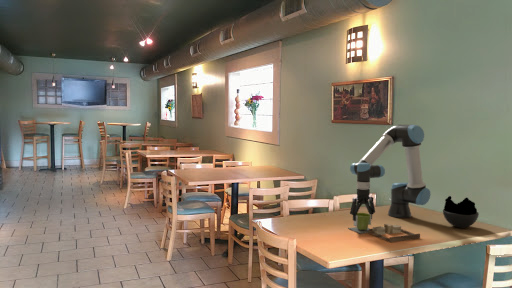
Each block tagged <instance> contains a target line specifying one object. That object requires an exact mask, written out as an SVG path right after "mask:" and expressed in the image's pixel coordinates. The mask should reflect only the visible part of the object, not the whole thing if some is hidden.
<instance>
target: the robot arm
mask: <svg viewBox="0 0 512 288" xmlns="http://www.w3.org/2000/svg"><path fill="white" fill-rule="evenodd" d="M424 140H425V131H424V130H423V128H422V127H421V126H420V125H417V124H395V125H393V126H391V127H389V128H388V129H387V130H386V131H384V133H382V134H381V136H380V138H379V140H377V142H376V143H375V144H374V145H373V146H372V147H371V148H370V149H369V150H368V151H367V152H366V153H365V155H363V157H362V158H360V160H359V161H358V162H353V163H351V165H350V168H349V171H350V172H351V174H353V175H355V176H356V197H353V198H351V199H352V202H351V207H350V210H349V211H350V212H349V214H350V215H351V216H352V221H353V226H354V227H357V220H358V216H357V213H359V210H360V209H361V206H362V205H365V208H366V210H367V212H368V214H370V215H371V216H370V218H369V223H368V226H372V220H373V215H374V214H375V213H376V210H375V204H374V197H373V196H370V194H371V193H370V191H371V189H370V186H371V184H370V183H371V179H375V178H376V179H377V178H382V177H384V175H385V173H386V169H385V168H384V166H383V165H380V164H377V165H376V164H375V162H376V161H377V160H379V158H380V157H381V156H382V155H383V154H384V153H385V152H386V151H387V150H388V148H389V147H391V146H393V145H394V144H395V143H401V145H402V146H401V147H402V148H404V152H405V160H406V161H405V162H406V168H407V170H406V171H407V176H408V177H407V178H408V182H394V183H392V184H391V188H390V200H391V201H390V206H389V209H388V213H387V215H388V216H389V217H393V218H399V219H409V218H411V217H412V212H411V209H410V204H414V205H417V206H425V205H426V204H428V203H429V201H430V198H431V190H430V189H429V188H428V187H426V185H427V184H426V183H425V182H424V181H423V171H422V164H421V163H422V162H421V154H420V153H421V152H420V146H421V145H422V142H423V141H424Z"/></svg>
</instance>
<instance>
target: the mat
mask: <svg viewBox="0 0 512 288" xmlns="http://www.w3.org/2000/svg"><path fill="white" fill-rule="evenodd" d="M348 229H349V230H350V231H352V232H354V233H357V234H359V235H361V234H369V233H368V230H369V229H371V228H369V227H368V229H367V230H364V229H363V230H360V229H358V228H357V227H356V226H354V227H348Z"/></svg>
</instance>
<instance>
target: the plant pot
mask: <svg viewBox="0 0 512 288" xmlns="http://www.w3.org/2000/svg"><path fill="white" fill-rule="evenodd" d="M357 216H358V220H357V228H358V229H360V230H363V229H364V230H367V229H368V228H369V225H368V223H369V218H370V216H371V215H370V214H369V213H366V212H358V213H357Z"/></svg>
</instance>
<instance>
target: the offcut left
mask: <svg viewBox="0 0 512 288" xmlns="http://www.w3.org/2000/svg"><path fill="white" fill-rule="evenodd" d="M372 229H373V232H375V233H377V234H380V235H382V236H384V235H386V233H385V228H384V226H382V225H381V226H373V227H372Z"/></svg>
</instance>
